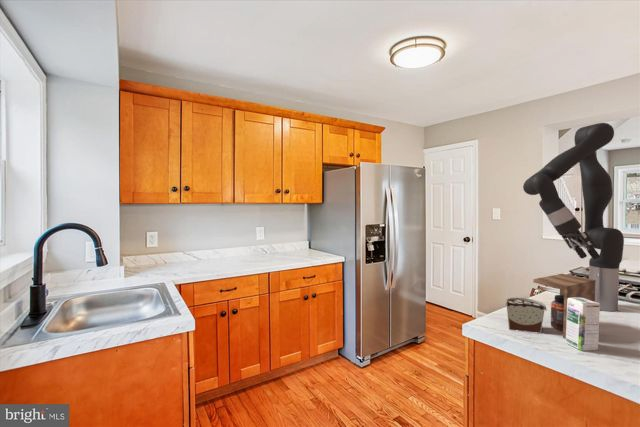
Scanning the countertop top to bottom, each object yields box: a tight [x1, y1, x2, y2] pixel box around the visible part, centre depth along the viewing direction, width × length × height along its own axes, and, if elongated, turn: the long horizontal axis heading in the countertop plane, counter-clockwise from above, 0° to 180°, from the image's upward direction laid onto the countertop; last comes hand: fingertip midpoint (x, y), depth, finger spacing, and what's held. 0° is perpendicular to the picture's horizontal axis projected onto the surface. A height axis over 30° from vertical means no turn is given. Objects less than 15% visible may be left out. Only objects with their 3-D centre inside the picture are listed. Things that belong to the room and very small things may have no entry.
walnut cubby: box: [532, 273, 596, 340], centre depth 110 cm, size 18×10×17 cm, turn 116°
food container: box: [504, 297, 548, 334], centre depth 111 cm, size 12×6×10 cm, turn 71°
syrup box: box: [565, 297, 601, 352], centre depth 97 cm, size 6×6×14 cm
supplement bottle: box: [550, 294, 564, 332], centre depth 110 cm, size 6×6×11 cm
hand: (590, 257), depth 118 cm, fingers open, 8 cm apart
